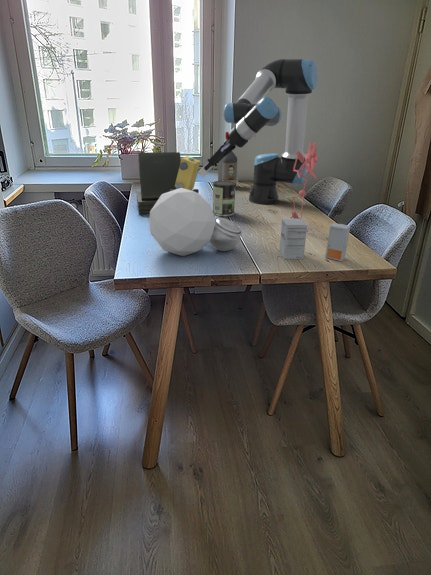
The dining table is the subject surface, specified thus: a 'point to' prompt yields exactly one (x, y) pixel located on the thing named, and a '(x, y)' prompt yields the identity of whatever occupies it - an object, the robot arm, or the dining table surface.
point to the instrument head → (188, 172)
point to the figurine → (310, 167)
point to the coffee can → (223, 198)
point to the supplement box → (293, 238)
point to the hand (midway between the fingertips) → (200, 174)
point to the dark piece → (156, 177)
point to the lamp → (190, 224)
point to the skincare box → (337, 241)
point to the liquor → (228, 166)
